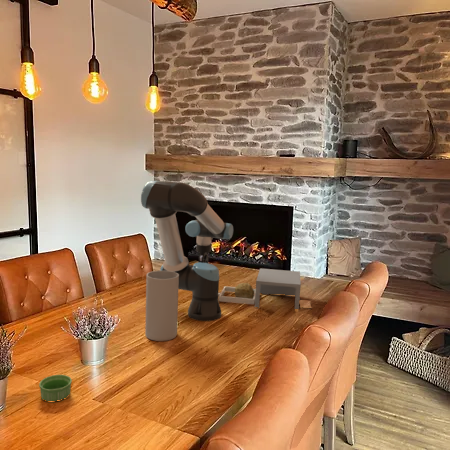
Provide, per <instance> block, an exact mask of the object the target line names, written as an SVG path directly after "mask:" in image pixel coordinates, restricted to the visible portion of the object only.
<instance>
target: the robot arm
mask: <svg viewBox="0 0 450 450" xmlns="http://www.w3.org/2000/svg"><path fill="white" fill-rule="evenodd" d="M140 203H141V206H142V207H143V208H144V209H148V211H149V214H150V216H151V218H153V219H154V220H155V223H156V227H157V232H158V236H159V241H160V245H161V249H162V253H163V257H164V261H163V263H162V265H161V266H160V269H159V271H172V272H176V273H178V274H179V285H178V290H182V291H187V292H192V294H191V295H192V297H191V301H190V303H189V307H188V310H187V317H188V318H190V319H191V320H194V321H199V322H200V321H201V322H212V321H216V320H219V319H220V318H221V317H222V308H221V306H220V301H219V296H218V293H219V286H220V270H219V268H218V267H217V266H216V265H214V264H212V263H209V253H211V252H212V240H213V238H215V239H220V240H230V239H232V237H233V235H234V226H233V224H232V223H228V222H224V221H223V219H222V218H221V217H220V216H219V215H218V214H217V212H215V211H214V210H213V208H212V207H211V206H210V204H208V200H207V197H205V196H204V195H203V194H202V193H201V191H199V190H198V189H196V188H195V187H194V186H192V185H190V184H187V183H185V182H180V181H179V182H178V181H177V182H176V181H165V180H163V181H162V180H161V181H160V180H149V181H148V182H146V184H145V185H144V186H143V188H142V190H141V194H140ZM177 212H181V213H182V212H183V213H187V214H188V215H190V216H191V217H195V218H196V219H195V220H191V221H189V222H188V223H186V225H185V233H186V235H188V236H189V237H192V238H194V237H195V238H196V245H195V246H196V248H195V250H196V252H197V253H199V255H198V259H197V260H198V261H197V262H195V263H193V264H190V262H189V259H188V257H186V256H185V254H184V249H183V244H182V240H181V235H180V230H179V225H178V221H177V217H176V214H177Z"/></svg>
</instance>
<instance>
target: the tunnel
mask: <svg viewBox="0 0 450 450" xmlns="http://www.w3.org/2000/svg"><path fill="white" fill-rule="evenodd" d="M257 274H258V275H257V277H256V281H255V289H256V293H255V303H254V308H255V307H258V308H257V309H259V308H260V299H261V298H260V297H261V295H269V294H285V295H295V299H294V309H299V310H300V306H299V300H300V299H301V298H300V297H301V272H300V271H296V270H283V269H270V268H259V270H258V273H257ZM260 293H262V294H260Z"/></svg>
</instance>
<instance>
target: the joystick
mask: <svg viewBox="0 0 450 450" xmlns="http://www.w3.org/2000/svg"><path fill="white" fill-rule="evenodd" d="M235 288H236V286H223V288H222V290H221V292H218V301H219V302H221V303H222V302H223V303H233V304H234V303H236V304H243V305H244V304H245V305H246V304H247V305H255V293H256V288H253V291H254V297H253V299H248V298H237V297H236V296H235V297H234V296H225V294H226V292H227V293H228V292H229V293H235Z"/></svg>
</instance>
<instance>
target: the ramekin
mask: <svg viewBox="0 0 450 450" xmlns="http://www.w3.org/2000/svg"><path fill="white" fill-rule="evenodd" d="M72 381H73V379H72V378H71V376H68V375H65V374H55V375H53V374H52V375H50V376H47V377H45V378H43V379H42V380H40V382H39V385H38V386H39V390H40V398H41V397H42V398H41V400H43V399H44V400H46V401H57V400H61V399H64V398H66V397H67V396H68V395H69V394H71V388H72V383H73V382H72ZM69 396H70V395H69ZM69 396H68V397H69ZM68 397H67V398H68ZM67 398H66V399H67ZM44 400H43V401H44ZM64 400H65V399H64ZM46 401H45V402H46Z"/></svg>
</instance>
